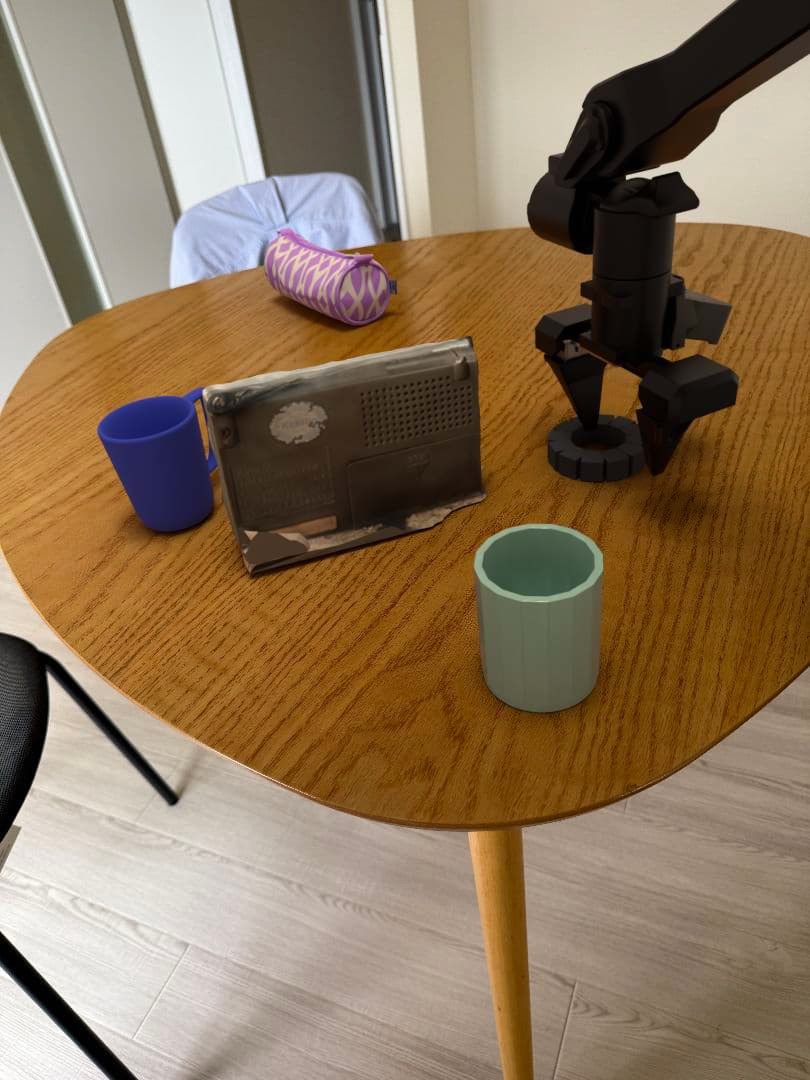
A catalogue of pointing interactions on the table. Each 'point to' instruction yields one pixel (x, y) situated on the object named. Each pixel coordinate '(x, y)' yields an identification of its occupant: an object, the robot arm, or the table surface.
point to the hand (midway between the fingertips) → (621, 450)
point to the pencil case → (328, 279)
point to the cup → (539, 615)
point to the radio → (347, 450)
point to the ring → (597, 463)
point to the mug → (162, 459)
